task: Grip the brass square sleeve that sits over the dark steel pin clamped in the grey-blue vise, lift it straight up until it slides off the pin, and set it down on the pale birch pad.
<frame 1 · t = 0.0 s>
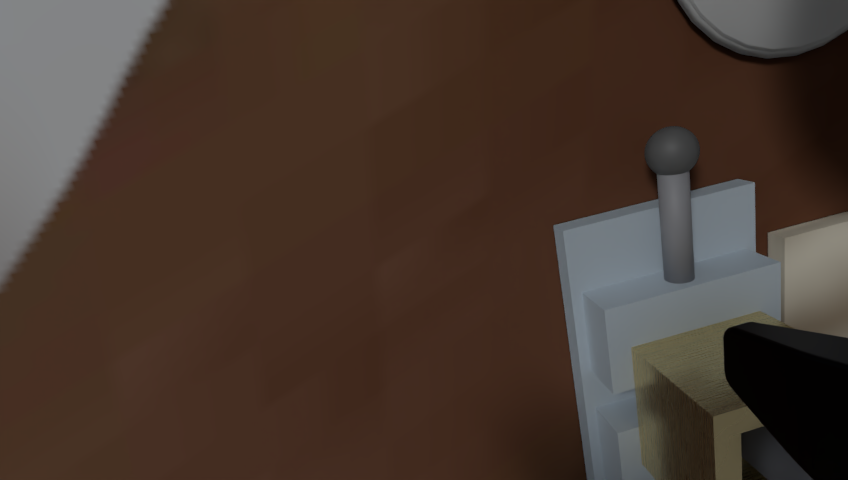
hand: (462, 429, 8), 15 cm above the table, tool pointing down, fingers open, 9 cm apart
brass sleeve: (699, 389, 24), point 3 cm above the table, touching vise
vise: (659, 356, 27), on the table
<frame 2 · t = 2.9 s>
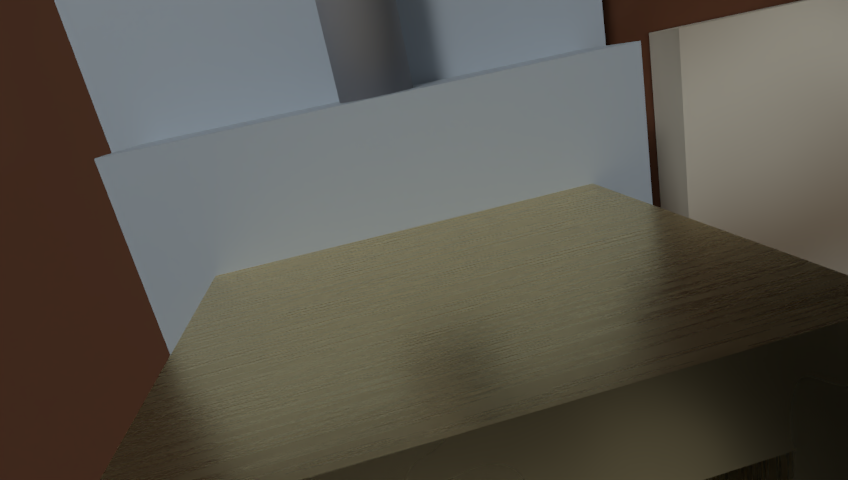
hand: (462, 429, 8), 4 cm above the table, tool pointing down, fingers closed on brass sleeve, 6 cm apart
brass sleeve: (447, 393, 9), point 3 cm above the table, touching gripper, vise
vise: (418, 320, 12), on the table
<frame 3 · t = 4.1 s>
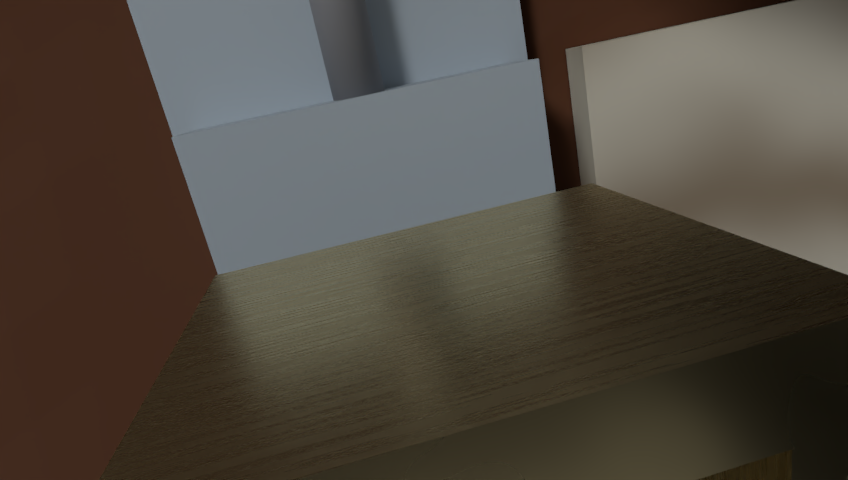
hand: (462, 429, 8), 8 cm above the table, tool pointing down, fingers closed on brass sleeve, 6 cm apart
brass sleeve: (447, 392, 9), point 7 cm above the table, touching gripper
vise: (394, 267, 16), on the table
birch pad: (760, 204, 18), on the table
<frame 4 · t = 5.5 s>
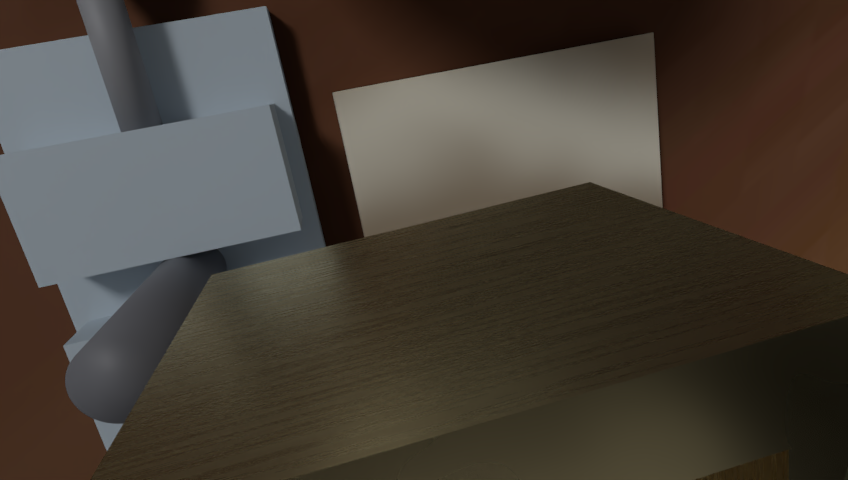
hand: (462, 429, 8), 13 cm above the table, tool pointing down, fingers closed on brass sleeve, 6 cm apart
brass sleeve: (444, 392, 9), point 12 cm above the table, touching gripper
vise: (202, 259, 20), on the table
birch pad: (512, 216, 22), on the table
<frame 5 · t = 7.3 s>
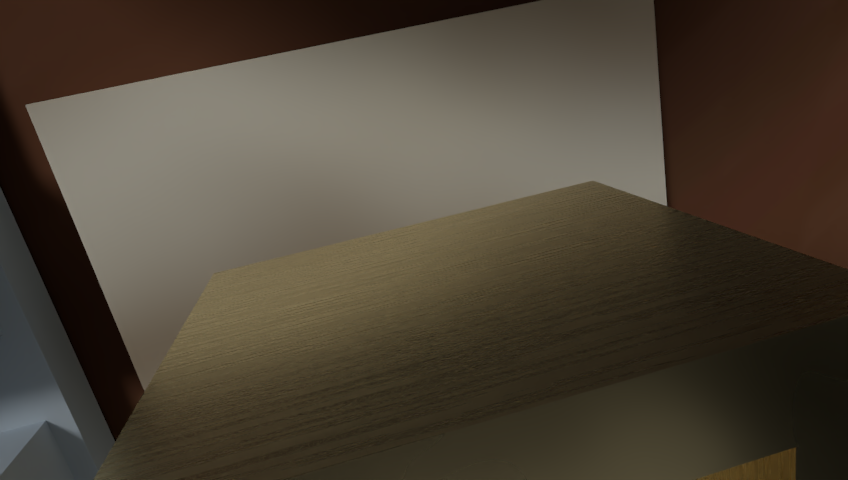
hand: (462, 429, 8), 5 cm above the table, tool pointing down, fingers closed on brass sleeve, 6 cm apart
brass sleeve: (447, 391, 9), point 4 cm above the table, touching gripper
birch pad: (415, 303, 13), on the table
when the fingers open (3 cm above the table, at t = 8.5 s): brass sleeve drops 1 cm, resting on birch pad.
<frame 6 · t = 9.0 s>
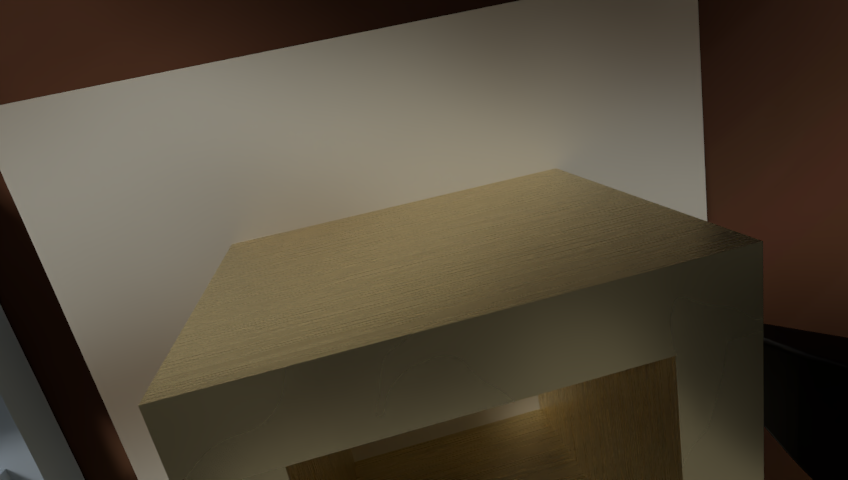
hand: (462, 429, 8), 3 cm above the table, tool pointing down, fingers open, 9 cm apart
brass sleeve: (431, 350, 11), point 1 cm above the table, touching birch pad
birch pad: (423, 330, 12), on the table
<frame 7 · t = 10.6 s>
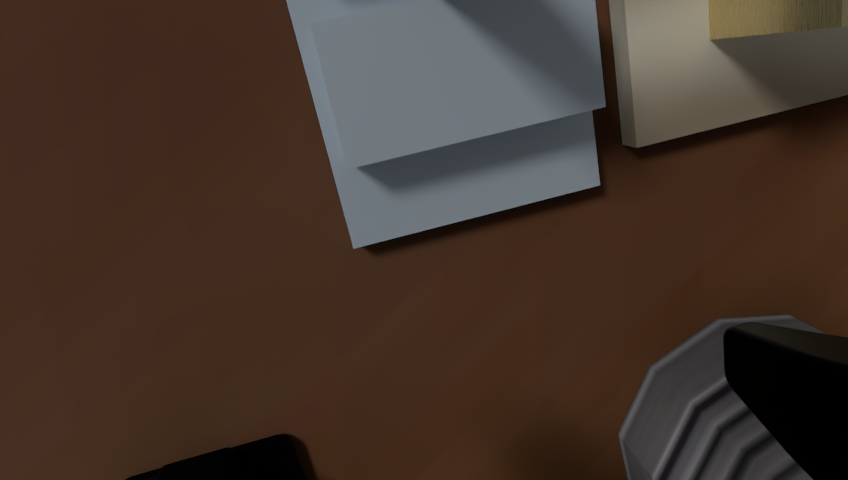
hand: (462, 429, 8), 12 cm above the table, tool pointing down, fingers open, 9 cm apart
can: (727, 420, 25), on the table
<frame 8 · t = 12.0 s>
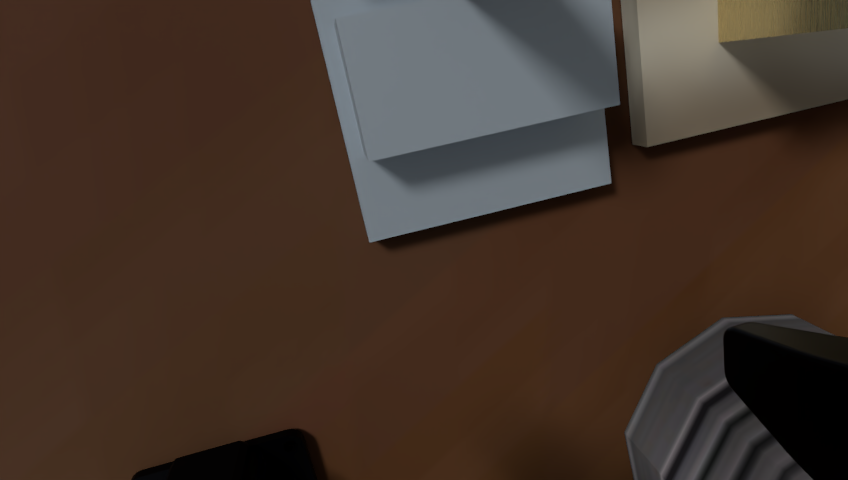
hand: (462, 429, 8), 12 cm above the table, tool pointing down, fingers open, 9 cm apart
can: (731, 419, 25), on the table
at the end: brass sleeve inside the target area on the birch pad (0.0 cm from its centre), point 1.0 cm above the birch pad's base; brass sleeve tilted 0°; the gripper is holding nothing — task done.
